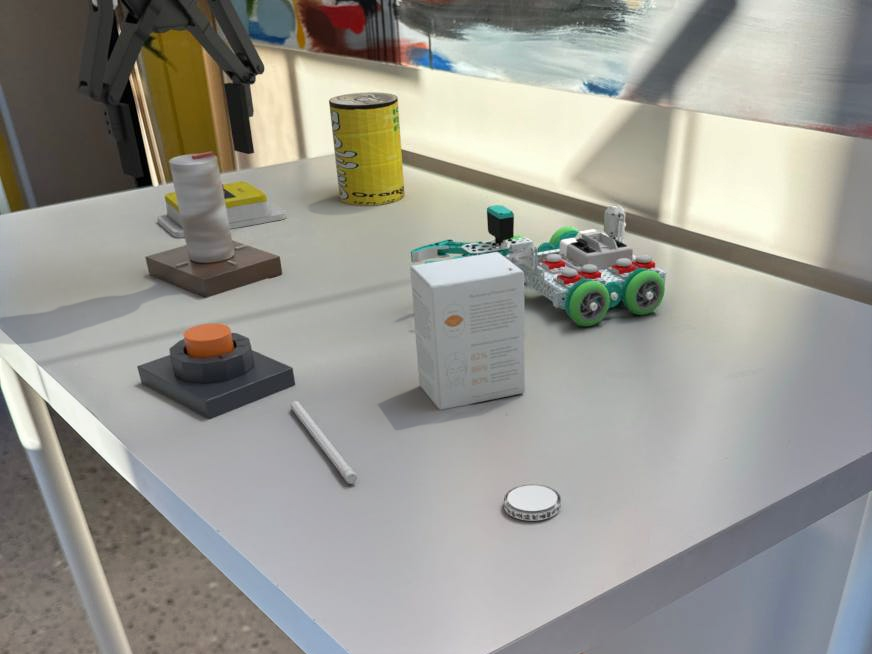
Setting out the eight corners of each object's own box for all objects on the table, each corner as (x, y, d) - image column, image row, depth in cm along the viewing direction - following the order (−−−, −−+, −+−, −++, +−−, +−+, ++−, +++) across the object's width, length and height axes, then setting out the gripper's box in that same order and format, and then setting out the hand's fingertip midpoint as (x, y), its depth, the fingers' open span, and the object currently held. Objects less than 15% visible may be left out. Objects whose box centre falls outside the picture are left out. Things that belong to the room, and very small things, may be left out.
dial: (205, 266, 106) (184, 164, 100) (180, 256, 109) (159, 157, 102) (243, 254, 109) (225, 154, 102) (218, 246, 112) (199, 148, 105)
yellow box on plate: (148, 185, 125) (258, 168, 130) (156, 221, 128) (264, 202, 133) (168, 201, 118) (283, 182, 124) (176, 238, 121) (288, 218, 127)
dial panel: (149, 274, 111) (144, 255, 109) (222, 253, 116) (219, 234, 115) (207, 298, 104) (203, 277, 103) (282, 274, 110) (279, 254, 108)
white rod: (298, 398, 82) (359, 475, 71) (294, 407, 82) (354, 485, 72) (289, 395, 81) (349, 471, 71) (285, 404, 82) (344, 482, 71)
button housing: (141, 383, 87) (131, 346, 85) (225, 353, 92) (218, 317, 90) (209, 420, 81) (200, 380, 79) (295, 385, 86) (289, 347, 84)
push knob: (178, 352, 84) (174, 332, 83) (217, 338, 87) (213, 319, 86) (204, 364, 82) (199, 344, 81) (243, 350, 84) (239, 330, 83)
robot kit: (394, 294, 103) (386, 201, 98) (599, 257, 111) (603, 169, 105) (463, 355, 90) (458, 252, 84) (690, 309, 98) (701, 211, 92)
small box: (501, 370, 87) (499, 250, 81) (526, 394, 83) (526, 269, 76) (417, 386, 85) (408, 263, 78) (438, 412, 81) (430, 285, 74)
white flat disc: (550, 524, 66) (550, 516, 66) (495, 514, 68) (495, 506, 67) (567, 496, 69) (568, 488, 69) (515, 487, 71) (515, 479, 70)
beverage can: (380, 184, 139) (372, 89, 132) (417, 196, 134) (411, 98, 126) (327, 196, 135) (315, 99, 127) (363, 209, 129) (353, 108, 122)
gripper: (234, -92, 98) (266, 138, 112) (-5, -82, 85) (64, 179, 98) (278, -91, 94) (306, 147, 108) (35, -81, 81) (101, 192, 94)
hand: (191, 163), depth 103 cm, fingers open, 13 cm apart
